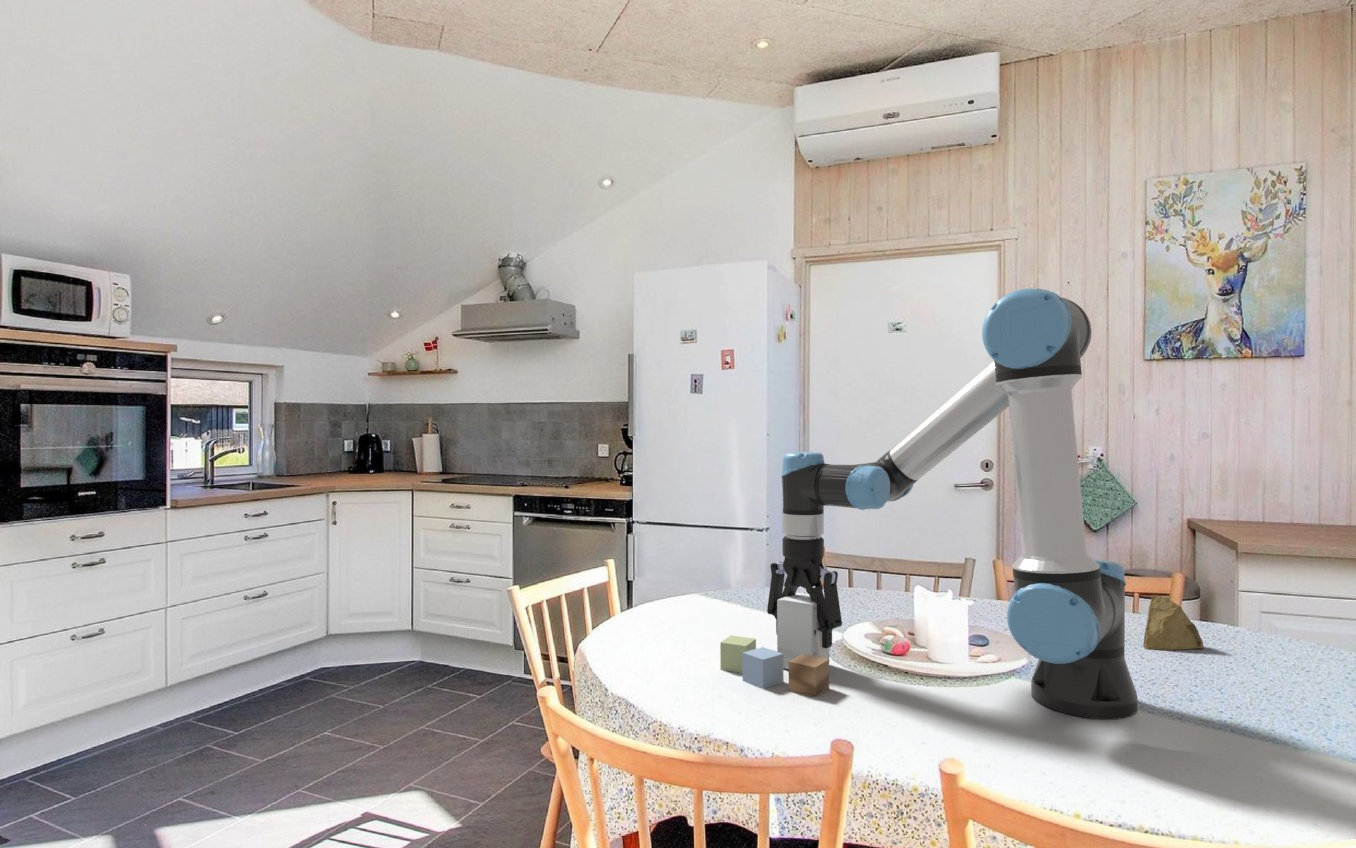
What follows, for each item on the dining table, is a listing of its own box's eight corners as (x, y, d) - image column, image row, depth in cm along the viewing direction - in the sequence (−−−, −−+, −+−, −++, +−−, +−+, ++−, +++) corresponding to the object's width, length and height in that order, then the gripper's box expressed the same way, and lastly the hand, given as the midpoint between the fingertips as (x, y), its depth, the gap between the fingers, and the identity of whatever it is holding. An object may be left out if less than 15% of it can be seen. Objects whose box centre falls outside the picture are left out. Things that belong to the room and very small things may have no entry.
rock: (1206, 632, 154) (1149, 618, 160) (1211, 604, 149) (1152, 591, 155) (1199, 675, 148) (1139, 659, 154) (1203, 648, 143) (1142, 632, 149)
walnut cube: (829, 688, 130) (828, 659, 130) (815, 697, 126) (815, 667, 126) (802, 682, 133) (802, 654, 133) (788, 691, 129) (788, 661, 129)
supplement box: (812, 675, 137) (812, 604, 137) (776, 667, 141) (775, 598, 141) (831, 664, 143) (830, 596, 142) (795, 657, 147) (795, 591, 147)
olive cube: (756, 665, 143) (755, 638, 143) (746, 673, 138) (745, 646, 138) (731, 661, 145) (731, 635, 145) (720, 669, 140) (720, 642, 140)
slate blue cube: (783, 682, 134) (783, 653, 134) (762, 689, 131) (762, 659, 130) (763, 675, 138) (762, 647, 137) (742, 681, 134) (742, 652, 134)
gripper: (863, 540, 137) (863, 667, 137) (772, 528, 152) (772, 643, 152) (838, 545, 131) (838, 678, 132) (747, 532, 147) (747, 651, 147)
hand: (803, 659), depth 142 cm, fingers closed on supplement box, 8 cm apart
